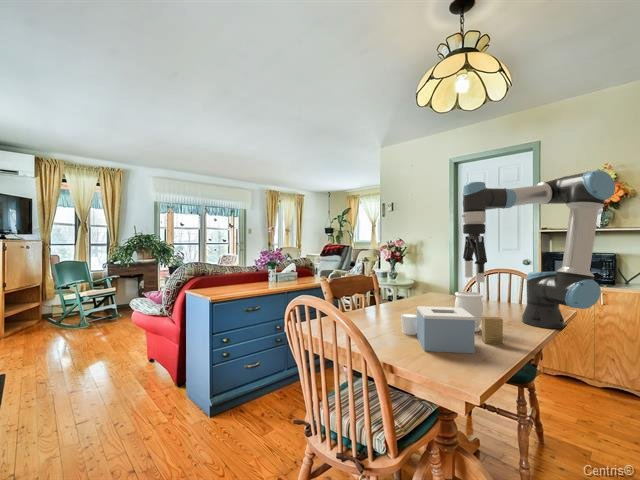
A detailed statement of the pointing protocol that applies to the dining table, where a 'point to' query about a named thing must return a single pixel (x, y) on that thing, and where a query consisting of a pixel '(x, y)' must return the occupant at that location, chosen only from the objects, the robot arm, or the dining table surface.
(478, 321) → the jar
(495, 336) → the wooden rectangular block
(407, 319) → the white cylinder
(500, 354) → the dining table surface
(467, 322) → the box
